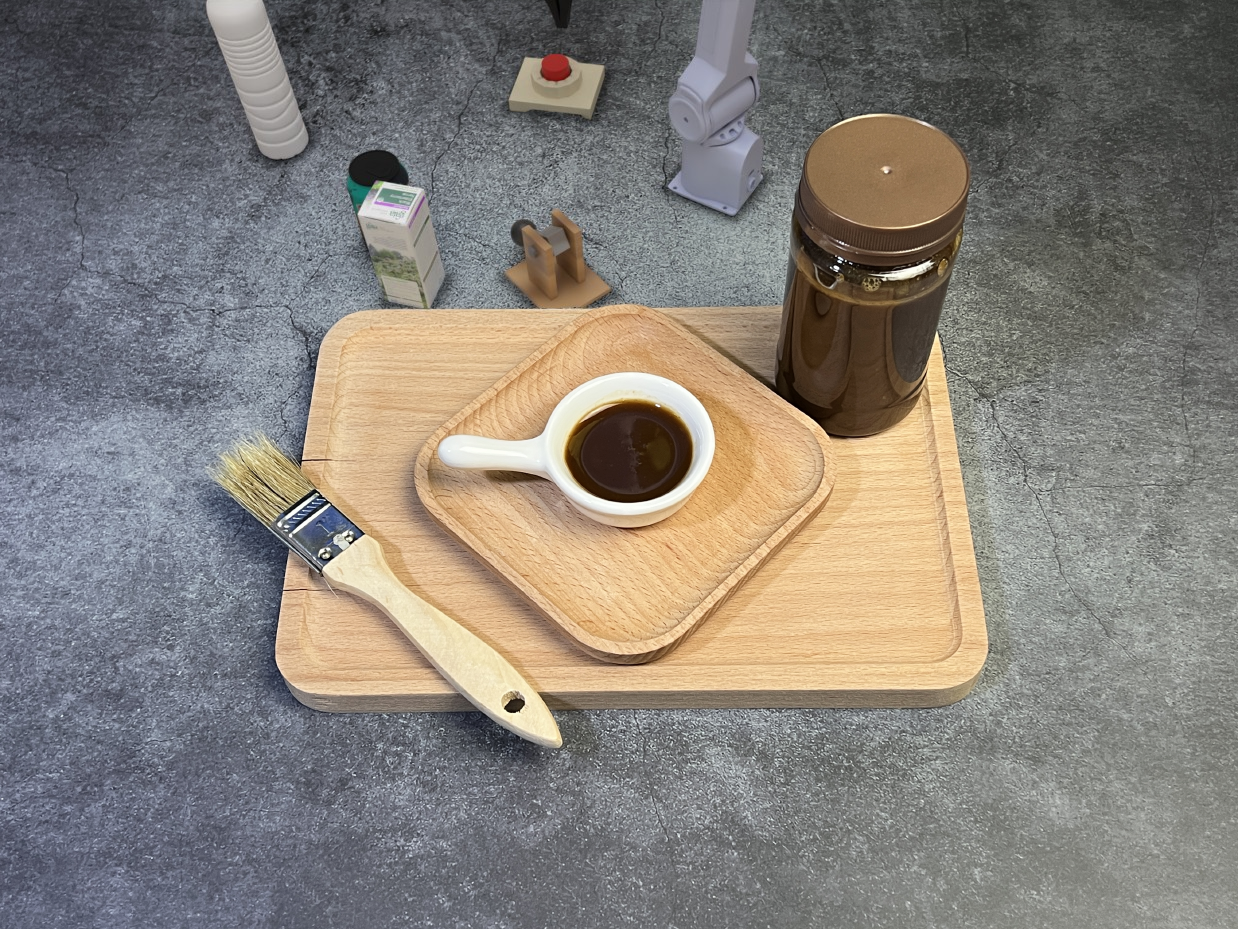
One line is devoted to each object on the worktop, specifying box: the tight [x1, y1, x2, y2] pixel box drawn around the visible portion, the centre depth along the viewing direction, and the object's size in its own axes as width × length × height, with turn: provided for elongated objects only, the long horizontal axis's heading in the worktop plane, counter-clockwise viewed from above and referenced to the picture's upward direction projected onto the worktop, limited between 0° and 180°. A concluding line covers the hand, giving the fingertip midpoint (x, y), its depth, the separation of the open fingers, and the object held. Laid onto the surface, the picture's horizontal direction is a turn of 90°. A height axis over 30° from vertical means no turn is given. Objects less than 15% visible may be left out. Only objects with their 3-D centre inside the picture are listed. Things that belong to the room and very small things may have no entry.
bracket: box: [504, 208, 612, 309], centre depth 125 cm, size 10×8×9 cm
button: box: [541, 53, 570, 82], centre depth 144 cm, size 4×4×2 cm
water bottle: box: [205, 0, 309, 160], centre depth 134 cm, size 9×6×25 cm
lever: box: [509, 218, 570, 256], centre depth 125 cm, size 10×3×3 cm, turn 38°
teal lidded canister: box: [346, 149, 412, 254], centre depth 128 cm, size 7×7×12 cm
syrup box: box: [357, 180, 446, 309], centre depth 123 cm, size 6×6×14 cm
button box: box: [508, 55, 606, 120], centre depth 146 cm, size 11×9×4 cm
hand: (563, 23), depth 139 cm, fingers closed
